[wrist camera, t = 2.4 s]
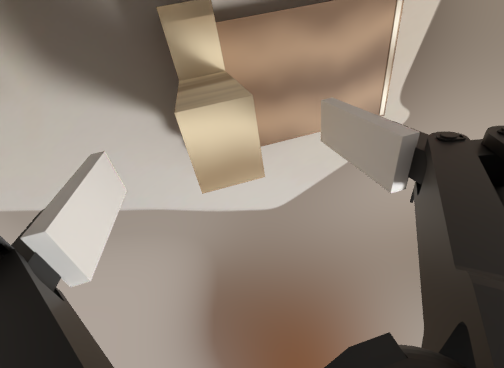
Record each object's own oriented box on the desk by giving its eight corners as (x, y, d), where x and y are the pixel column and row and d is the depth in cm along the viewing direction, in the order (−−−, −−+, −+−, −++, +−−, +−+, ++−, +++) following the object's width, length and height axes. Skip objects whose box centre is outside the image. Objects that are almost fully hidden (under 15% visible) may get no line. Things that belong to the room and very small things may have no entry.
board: (166, 32, 20) (165, 31, 19) (390, -10, 23) (407, -14, 21) (203, 153, 27) (205, 160, 25) (373, 110, 30) (384, 115, 28)
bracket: (160, 10, 19) (127, -21, 9) (207, 2, 20) (233, -38, 9) (200, 142, 26) (210, 217, 15) (235, 134, 26) (268, 201, 16)
